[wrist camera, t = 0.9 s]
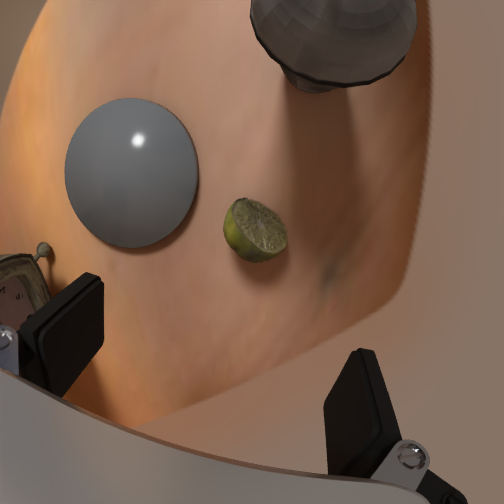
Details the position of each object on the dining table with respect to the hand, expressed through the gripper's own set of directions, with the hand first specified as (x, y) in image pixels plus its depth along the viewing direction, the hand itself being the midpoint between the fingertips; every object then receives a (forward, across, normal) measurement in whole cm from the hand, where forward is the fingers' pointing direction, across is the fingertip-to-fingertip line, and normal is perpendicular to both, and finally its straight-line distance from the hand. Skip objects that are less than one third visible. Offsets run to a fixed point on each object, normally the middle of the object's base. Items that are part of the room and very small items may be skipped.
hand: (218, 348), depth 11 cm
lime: (+16, 0, 0) cm, 17 cm away
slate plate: (+16, +12, -2) cm, 20 cm away
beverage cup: (+16, -1, -14) cm, 21 cm away
